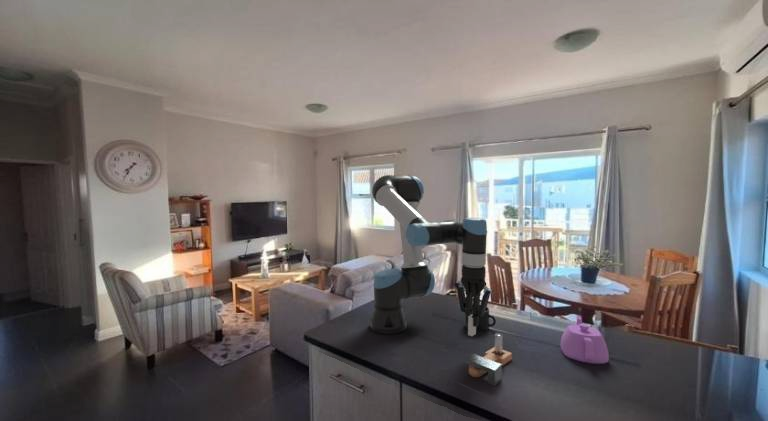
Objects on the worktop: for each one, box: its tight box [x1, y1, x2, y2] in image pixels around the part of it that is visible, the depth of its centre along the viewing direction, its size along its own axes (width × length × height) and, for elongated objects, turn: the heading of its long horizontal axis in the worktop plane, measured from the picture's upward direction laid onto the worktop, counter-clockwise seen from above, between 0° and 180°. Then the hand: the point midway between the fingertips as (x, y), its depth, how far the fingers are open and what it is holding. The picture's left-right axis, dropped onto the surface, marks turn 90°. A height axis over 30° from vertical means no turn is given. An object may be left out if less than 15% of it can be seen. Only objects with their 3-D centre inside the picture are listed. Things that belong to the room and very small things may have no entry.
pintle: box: [494, 333, 503, 356], centre depth 102 cm, size 2×2×8 cm
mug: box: [464, 306, 497, 333], centre depth 127 cm, size 9×12×9 cm
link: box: [468, 346, 513, 378], centre depth 98 cm, size 18×6×2 cm, turn 130°
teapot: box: [560, 315, 610, 365], centre depth 105 cm, size 13×20×11 cm
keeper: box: [465, 353, 503, 387], centre depth 92 cm, size 9×4×5 cm, turn 46°
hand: (471, 334), depth 105 cm, fingers closed
